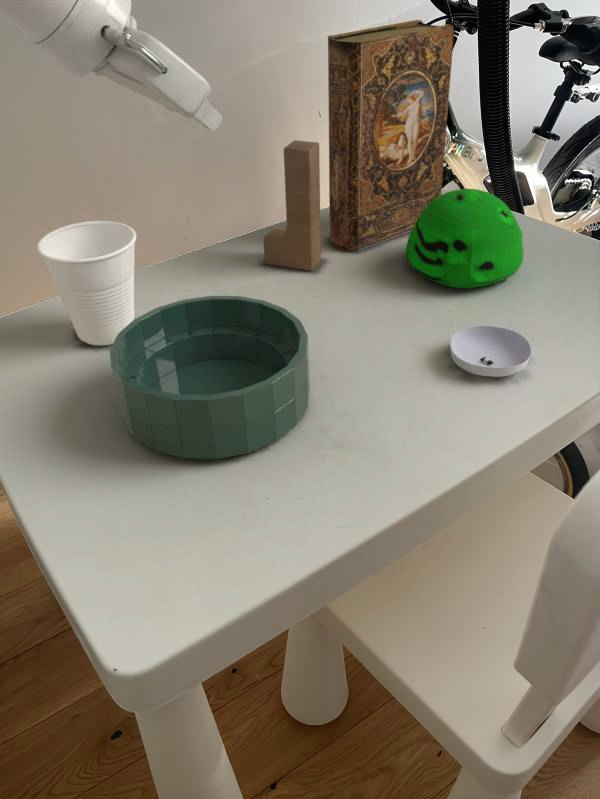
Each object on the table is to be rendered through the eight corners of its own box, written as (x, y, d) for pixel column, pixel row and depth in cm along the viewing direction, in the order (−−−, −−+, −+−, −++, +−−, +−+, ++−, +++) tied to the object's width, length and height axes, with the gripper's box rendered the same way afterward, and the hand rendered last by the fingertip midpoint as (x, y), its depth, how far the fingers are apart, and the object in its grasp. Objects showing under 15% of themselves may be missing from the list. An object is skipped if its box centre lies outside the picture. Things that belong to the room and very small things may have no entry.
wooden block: (321, 260, 94) (319, 142, 85) (312, 271, 92) (309, 150, 83) (274, 253, 96) (268, 137, 87) (264, 264, 94) (256, 145, 85)
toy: (386, 262, 93) (390, 185, 87) (468, 238, 98) (476, 164, 92) (455, 306, 83) (464, 222, 78) (542, 277, 89) (556, 196, 83)
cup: (109, 302, 87) (90, 213, 80) (170, 325, 82) (156, 232, 75) (41, 339, 80) (15, 246, 74) (103, 367, 75) (81, 269, 69)
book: (350, 254, 95) (351, 43, 81) (323, 241, 99) (320, 37, 84) (438, 221, 103) (455, 23, 88) (411, 210, 107) (422, 18, 92)
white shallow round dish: (489, 394, 70) (492, 378, 68) (431, 358, 75) (432, 342, 74) (546, 366, 73) (549, 350, 72) (486, 333, 78) (488, 317, 77)
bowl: (97, 391, 72) (82, 329, 68) (252, 338, 79) (247, 279, 75) (170, 493, 60) (157, 426, 56) (345, 419, 67) (345, 355, 63)
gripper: (149, 4, 60) (261, 108, 70) (70, -17, 74) (172, 72, 84) (107, 71, 61) (224, 164, 70) (37, 38, 75) (142, 119, 85)
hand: (195, 114), depth 77 cm, fingers open, 8 cm apart
